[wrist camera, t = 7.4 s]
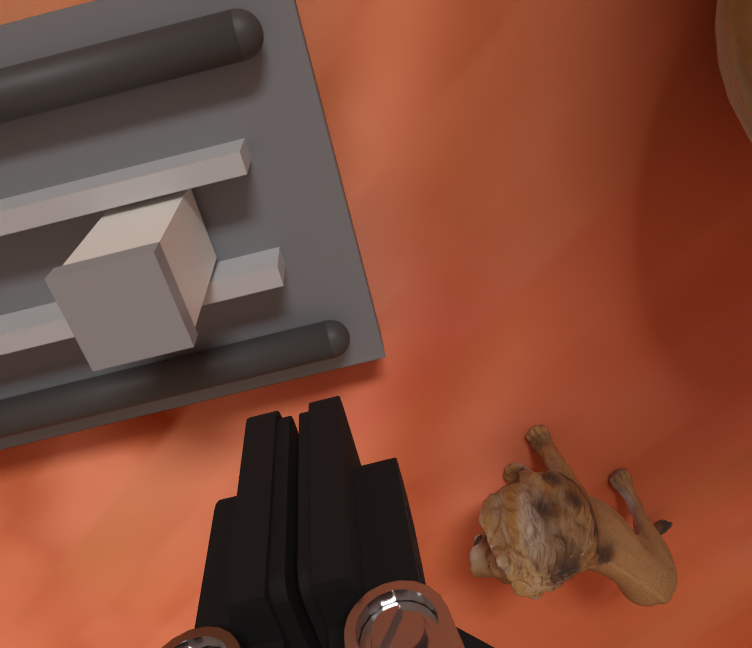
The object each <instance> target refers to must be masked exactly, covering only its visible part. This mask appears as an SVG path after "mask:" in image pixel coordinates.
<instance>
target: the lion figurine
mask: <svg viewBox="0 0 752 648" xmlns="http://www.w3.org/2000/svg"><path fill="white" fill-rule="evenodd" d="M526 439H527V440H528V441H529V443H531V446H532V448H533V450H534V451H535V452H536V453H537V454H538V455H540V457H541V458H542V459H543V462H544V465H545V468H546V470H547V471H545V472H542V471H539V472H533V471H531V470H530V469H529V468H528V467H526V466H524V465H521V464H519V463H511V464H510V465H508V466H506V467H505V469H504V470H505V471H504V474H503V476H504V478H505V479H506V481H507V482H508V483H509V484H508V485H506V486H503V487H502V488H501V489H500V490H499V491H497V492H496V493H495V494H490V495H489V497H488V498H487V499H486V500H485V501H483V506H482V508H481V510H480V515H479V520H478V521H479V523H480V525H481V526H482V528H483V530H484V532H485V533H480V534H477V535H476V536H475V538H474V545H475V546H474V547H473V548H472V549H471V551H470V563H471V568H470V571H471V573H472V575H473V576H475V577H478V578H482V577H490V578H496V579H498V580H499V581H501V582H502V583H505V584H511V587H512V589H514V593H515V594H516V595H518V596H522V597H523V596H526V597H529V598H531V599H533V600H534V599H540V598H541V597H542V595H543V594H544V593H545V592H547V591H550V592H552V591H553V590H554V589H555V588H559V587H561V586H562V584H563V582H564V581H566V580H569V579H571V578H572V577H573V576H574V575H575V574H577V573H580V572H583V571H585V570H586V569H590V570H592V571H595V572H598V573H600V574H603V575H605V576H607V577H608V578H610V579H612V580H613V581H615V582H616V584H617V585H618V587H619V589H620V590H621V592H622V593H623V594H624V595H625V597H626V598H627V599H629V600H630V601H631V602H633V603H635V604H637V605H641V606H653V605H657V604H666V603H668V602H669V601H670V600H671V599H672V596H673V593H674V591H675V589H676V585H677V572H676V568H675V565H674V561H673V558H672V555H671V553H670V550H669V548H668V546H667V545H666V543H665V541H664V540H663V538H662V537H661V535H662V534H663V533H665V532H666V531H667V530H668V529H669V528H670V527H671V526H672V523H671V522H668V521H666V520H659V521H658V522H656V523H655V525H653V524H652V522H651V520H650V519H649V518H648V517H647V515H646V513H645V512H644V508H643V505H642V503H641V501H640V500H639V498H638V496H637V494H636V492H635V490H634V487H633V483H632V480H631V476H630V474H629V472H628V471H626V470H623V469H621V470H617V471H616V472H615V473H614V474H613V475H611V476H610V483H611V485H612V486H613V487H614V488H615V489H616V490H617V491H618V492H619V493H620V494H621V495H622V497H623V499H624V500H625V502H626V504H627V507H628V510H629V512H630V513H631V514H632V516H633V526H634V530H635V532H634V531H633V530H632V528H631V527H630V525H629V524H628V523H627V522H626V521H625V519H624V518H623V517H622V516H621V515H620V514H619V513H618V512H617V511H615V510H614V509H613V508H612V507H610V506H609V505H608V504H606V503H605V502H603V501H602V500H600V499H598V498H596V497H594V496H591V495H589V494H588V493H587V492H586V490H585V489H584V487H583V486H582V485H581V483H580V482H579V481H578V479H577V478H576V476H575V475H574V473H573V471H572V469H571V468H570V467H569V465H568V464H567V463H566V461H565V460H564V458H563V457H562V455H561V454H560V453H559V452H558V450H557V448H556V447H555V445H554V443H553V441H552V438H551V436H550V432H549V430H548V429H547V428H546V427H545V426H543V425H537V426H534V427H532V428H530V429H529V430H528V432H527V434H526Z"/></svg>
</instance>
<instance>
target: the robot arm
mask: <svg viewBox="0 0 752 648" xmlns="http://www.w3.org/2000/svg"><path fill="white" fill-rule="evenodd" d="M162 648H494V647H492V646H490V645H488V644H487V643H485V642H483V641H481V640H479V639H477V638H475V637H474V636H472V635H470V634H468V633H466V632H464V631H463V630H461V629H459V628H457V627H456V626H455V623H454V621H453V619H452V616H451V614H450V611H449V609H448V607H447V605H446V604H445V602H444V600H443V599H442V597H441V596H440V594H438V593H437V592H436V591H434V590H433V589H432V588H430V587H429V586H427V585H426V583H425V578H424V573H423V568H422V563H421V558H420V553H419V548H418V543H417V538H416V533H415V528H414V524H413V520H412V515H411V511H410V507H409V503H408V499H407V495H406V491H405V487H404V483H403V480H402V476H401V472H400V469H399V465H398V462H397V459H396V458H391V459H387V460H383V461H379V462H375V463H371V464H367V465H363V466H361V463H360V460H359V457H358V453H357V450H356V447H355V444H354V440H353V437H352V434H351V431H350V427H349V424H348V421H347V417H346V414H345V411H344V408H343V405H342V402H341V399H340V397H339V396H336V397H332V398H328V399H323V400H319V401H315V402H311V403H309V411H308V412H304V413H300V414H299V433H298V431H297V428H296V425H295V422H294V420H293V418H292V416H288V417H284V418H282V416H281V414H280V412H279V411H274V412H270V413H266V414H262V415H258V416H254V417H250V418H248V419H247V422H246V428H245V436H244V444H243V452H242V459H241V467H240V475H239V483H238V491H237V496H234V497H230V498H226V499H222V500H219V501H218V502H217V503H216V506H215V510H214V515H213V521H212V527H211V533H210V539H209V545H208V551H207V557H206V563H205V569H204V575H203V581H202V587H201V593H200V599H199V605H198V611H197V617H196V623H195V629H192V630H188V631H186V632H185V633H183V634H181V635H179V636H177V637H175V638H173V639H172V640H171V641H169V642H168V643H167V644H166V645H164V646H163V647H162Z"/></svg>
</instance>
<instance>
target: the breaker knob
mask: <svg viewBox="0 0 752 648" xmlns="http://www.w3.org/2000/svg"><path fill="white" fill-rule="evenodd" d="M216 258H217V257H216V254H215V252H214V249H213V246H212V244H211V241H210V238H209V236H208V233H207V230H206V228H205V225H204V222H203V220H202V217H201V214H200V212H199V209H198V206H197V204H196V201H195V199H194V196H193V193H192V191H191V188H190V189H186V190H182V191H178V192H174V193H170V194H166V195H162V196H158V197H154V198H150V199H146V200H142V201H138V202H134V203H130V204H126V205H122V206H118V207H114V208H110V209H108V210H107V211H106V213H105V214H104V215H103V216H102V217H101V219H100V220H99V221H98V222H97V224H96V225H95V226H94V227H93V229H92V230H91V231H90V232H89V233H88V235H87V236H86V237H85V238H84V240H83V241H82V242H81V243H80V244H79V246H78V247H77V248H76V249H75V251H74V252H73V253H72V254H71V256H70V257H69V258H68V259H67V260H66V262H65V263H64V264H63V265H62V266H59V267H55V268H53V269H52V271H51V272H50V273H49V274H48V275H47V277H46V278H45V279H44V280H45V281H46V283H47V285H48V287H49V289H50V291H51V293H52V295H53V297H54V299H55V300H56V302H57V304H58V306H59V308H60V310H61V312H62V314H63V316H64V318H65V319H66V321H67V323H68V325H69V327H70V329H71V331H72V333H73V335H74V337H75V338H76V340H77V342H78V344H79V346H80V348H81V350H82V352H83V354H84V356H85V357H86V359H87V361H88V363H89V365H90V367H91V369H92V371H97V370H101V369H105V368H109V367H114V366H118V365H122V364H126V363H130V362H134V361H138V360H142V359H146V358H151V357H155V356H159V355H163V354H167V353H171V352H175V351H179V350H183V349H188V348H192V347H194V345H195V342H196V338H197V335H198V333H197V331H196V328H195V326H196V323H197V320H198V316H199V313H200V310H201V307H202V303H203V300H204V297H205V294H206V291H207V287H208V284H209V281H210V278H211V274H212V271H213V268H214V265H215V261H216Z"/></svg>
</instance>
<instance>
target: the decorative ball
mask: <svg viewBox="0 0 752 648" xmlns="http://www.w3.org/2000/svg"><path fill="white" fill-rule="evenodd" d="M715 38H716V48H717V59H718V67H719V70H720V74H721V77H722V80H723V84H724V87H725V91H726V94H727V98H728V100H729V102H730V104H731V106H732V108H733V110H734V112H735V114H736V115H737V117H738V119H739V121H740V123H741V125H742V127H743V129H744V131H745V132H746V134H747V136H748V138H749V140H750V142H751V143H752V0H717V5H716V17H715Z"/></svg>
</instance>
